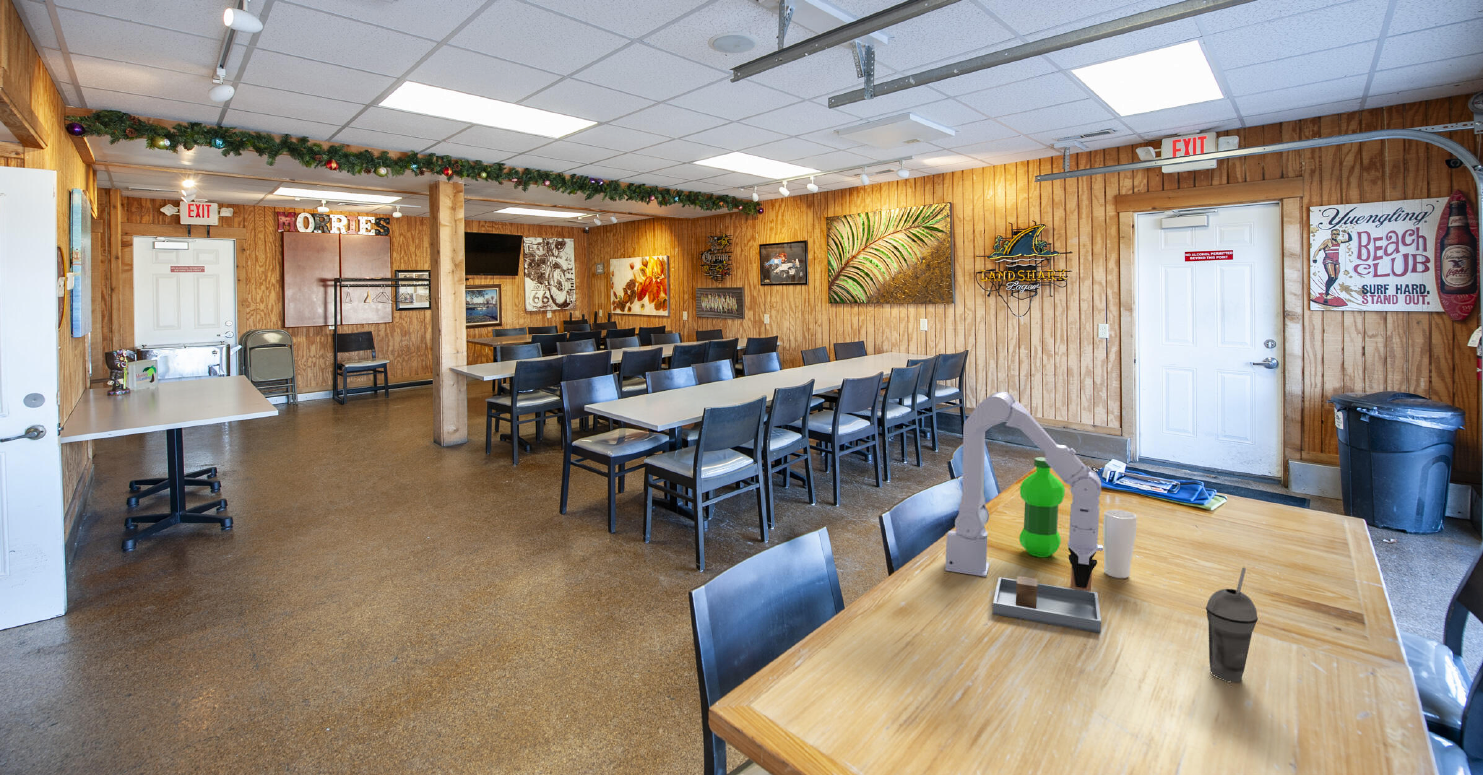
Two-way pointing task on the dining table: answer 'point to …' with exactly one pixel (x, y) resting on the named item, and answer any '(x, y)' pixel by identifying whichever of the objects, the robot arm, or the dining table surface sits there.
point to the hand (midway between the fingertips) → (1080, 582)
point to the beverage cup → (1230, 631)
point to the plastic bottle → (1041, 510)
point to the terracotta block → (1079, 587)
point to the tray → (1051, 606)
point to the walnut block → (1026, 592)
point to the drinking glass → (1118, 542)
